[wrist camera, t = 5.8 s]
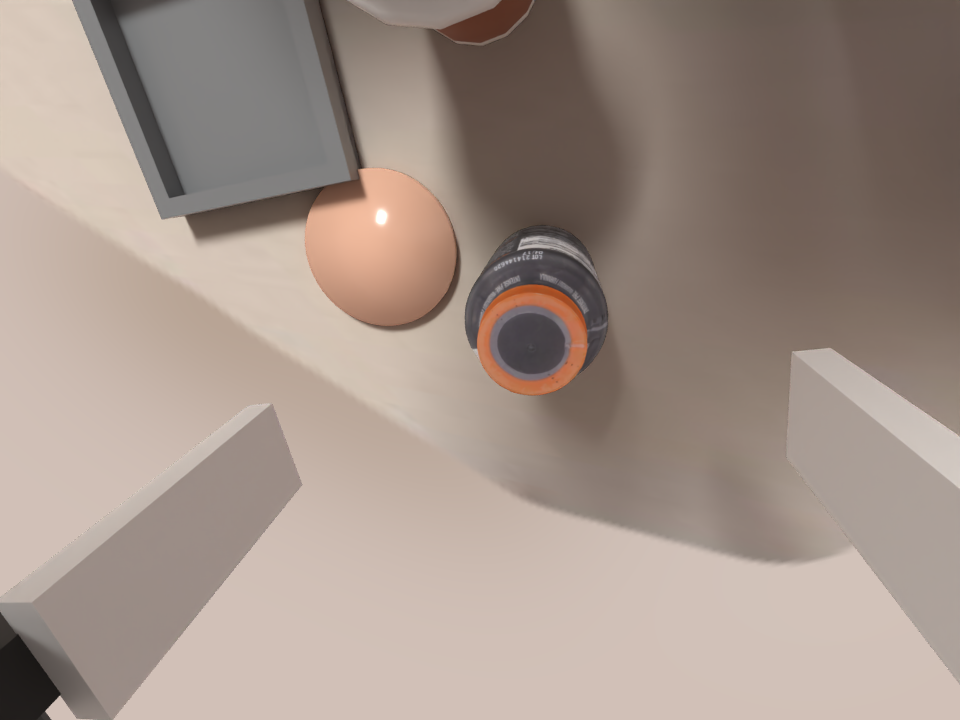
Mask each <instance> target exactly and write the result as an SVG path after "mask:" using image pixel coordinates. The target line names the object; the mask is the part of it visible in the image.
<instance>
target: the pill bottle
mask: <svg viewBox="0 0 960 720" xmlns="http://www.w3.org/2000/svg"><path fill="white" fill-rule="evenodd" d="M607 327H608V311H607V304H606V300H605V297H604V294H603V291H602V289H601V286H600V282H599V279H598V277H597V274H596V271H595V268H594V265H593V262H592V259H591V257H590V254H589V252H588V251H587V249H586V247H585V246H584V245H583V244H582V243H581V241H580V240H579V239H577V238H576V237H575V236H573V235H572V234H570V233H569V232H567V231H565V230H563V229H560V228H557V227H553V226H545V225H540V226H532V227H528V228H524V229H522V230H519V231H518V232H516V233H514V234H513V235H511V236H510V237H508V238H507V239H506V240H505V241H504V242H503V243H502V244H501V245H500V246H499V248H498V249H497V250H496V252H495V253H494V255H493V256H492V258H491V259H490V261H489V262H488V264H487V265H486V267H485V268H484V270H483V271H482V273H481V275H480V276H479V278H478V279H477V281H476V282H475V284H474V286H473V287H472V290H471V292H470V294H469V297H468V300H467V303H466V308H465V329H466V334H467V337H468V341H469V343H470V346H471V348H472V350H473V351H474V353H475V354H476V356H477V358H478V359H479V360H480V361H481V363H482V365H483V368H484V369H485V371H486V372H487V373H488V375H489V376H490V377H491V378H492V379H493V380H494V381H495V382H496V383H497V384H499V385H500V386H502V387H504V388H506V389H507V390H509V391H511V392H514V393H518V394H523V395H543V394H547V393H551V392H554V391H557V390H559V389H560V388H562V387H563V386H565V385H566V384H568V383H569V382H570V381H571V380H572V379H573V378H574V377H575V376H576V375H578V374H579V373H580V372H582V371H583V370H584V369H585V368H586V367H587V366H588V365H589V364H590V363H591V362H592V361H593V360H594V358H595V357H596V355H597V354H598V352H599V351H600V349H601V347H602V345H603V342H604V340H605V337H606V333H607Z"/></svg>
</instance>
